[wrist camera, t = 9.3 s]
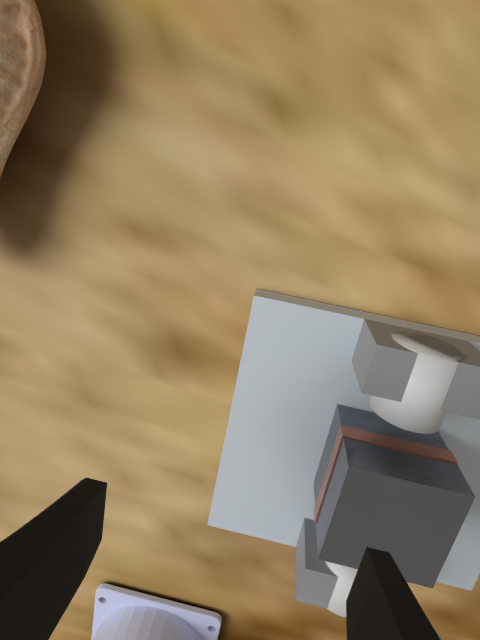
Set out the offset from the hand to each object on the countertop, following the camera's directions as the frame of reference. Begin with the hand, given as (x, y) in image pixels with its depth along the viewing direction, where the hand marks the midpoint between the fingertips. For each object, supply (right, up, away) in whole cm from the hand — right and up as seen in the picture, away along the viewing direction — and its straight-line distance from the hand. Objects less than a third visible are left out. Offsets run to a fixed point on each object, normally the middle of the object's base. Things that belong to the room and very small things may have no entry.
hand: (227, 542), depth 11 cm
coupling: (+7, 0, +8) cm, 11 cm away
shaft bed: (+7, 0, +10) cm, 12 cm away
